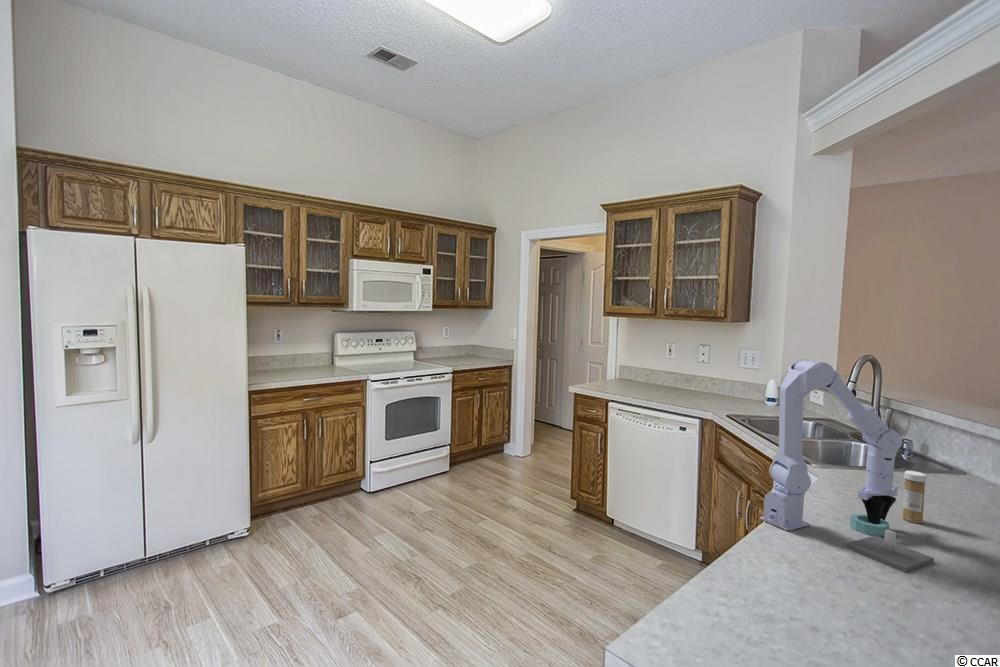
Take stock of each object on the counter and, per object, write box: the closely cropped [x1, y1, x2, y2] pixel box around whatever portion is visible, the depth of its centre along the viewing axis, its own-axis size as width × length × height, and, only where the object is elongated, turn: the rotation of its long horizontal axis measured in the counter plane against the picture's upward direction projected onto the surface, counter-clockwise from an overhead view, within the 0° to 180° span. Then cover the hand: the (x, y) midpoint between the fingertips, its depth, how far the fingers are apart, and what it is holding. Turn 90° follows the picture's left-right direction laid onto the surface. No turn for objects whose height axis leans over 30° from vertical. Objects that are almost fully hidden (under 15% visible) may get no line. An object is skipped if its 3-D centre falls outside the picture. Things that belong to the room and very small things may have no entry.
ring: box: [849, 513, 890, 538], centre depth 127 cm, size 8×8×2 cm
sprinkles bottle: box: [901, 470, 927, 524], centre depth 134 cm, size 5×5×14 cm
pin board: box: [845, 529, 935, 573], centre depth 113 cm, size 12×12×6 cm
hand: (876, 522), depth 128 cm, fingers closed on ring, 2 cm apart
